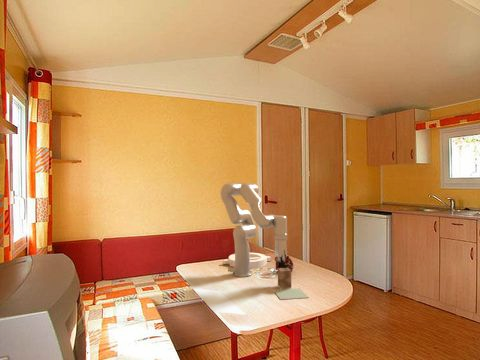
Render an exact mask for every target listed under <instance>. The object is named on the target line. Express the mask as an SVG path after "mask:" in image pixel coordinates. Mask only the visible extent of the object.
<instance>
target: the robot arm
mask: <svg viewBox="0 0 480 360" xmlns="http://www.w3.org/2000/svg"><path fill="white" fill-rule="evenodd" d="M235 196H241V197H242V198H243V200H244V201H245V202H246V204H247V205H248V207H250V211H249V210H248V209H247V208H240V206H239V203H238V201H237V200H236V198H234V197H235ZM220 198H221V200H222V203H223V204H224V206H225V209H226V212H227V215H228V218H229V220H230V223H232V224H233V225H237V226H235V227H234V229H232V231H233V232H232V235H233V240H234V254H235V266H234V267H232V268H230V267H228V268H227V272H230V273H232V275H233V276H235V277H237V278H238V277H239V278H245V277H251V276H252V275H253V271H252V270H251V268H250V253H251V251H250V248H251V247H250V244H249V241H248V239H253V238H255V236H257V233H258V228H257V226H259V227H260V228H262V229H269V228H273V230H274V231H273V233H274V234H273V236H274V238H273V239H274V255H275V257H278V268H284V260H285V258H286V257H287V256H288V248H287V247H288V244H287V241H288V218H287V216H286V215H276V214H264V213H263V212H262V210H261V208H260V205H261V204H262V203H263V202H262V198H261V196H259V186H258V185H257V184H256V183H251V182H250V183H245V182H228V183H225V184H224V185H222V186H221V189H220ZM238 224H239V225H238ZM256 224H257V226H256Z"/></svg>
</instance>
